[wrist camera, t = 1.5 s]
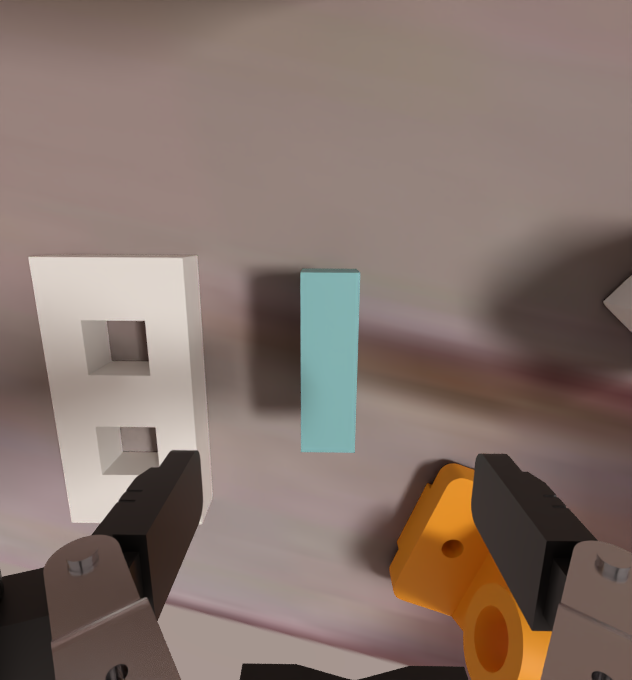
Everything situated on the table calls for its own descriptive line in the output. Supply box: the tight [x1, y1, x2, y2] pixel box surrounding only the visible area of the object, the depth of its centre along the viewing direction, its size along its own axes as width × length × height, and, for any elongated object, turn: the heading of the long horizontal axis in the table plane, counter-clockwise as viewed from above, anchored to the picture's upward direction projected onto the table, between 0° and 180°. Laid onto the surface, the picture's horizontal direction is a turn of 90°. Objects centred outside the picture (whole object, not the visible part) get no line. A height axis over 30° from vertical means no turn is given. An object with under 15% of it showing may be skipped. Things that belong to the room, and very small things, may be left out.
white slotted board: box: [28, 254, 213, 524], centre depth 28 cm, size 18×9×3 cm, turn 0°
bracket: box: [389, 463, 552, 680], centre depth 26 cm, size 11×7×12 cm, turn 159°
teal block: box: [300, 269, 360, 453], centre depth 25 cm, size 10×3×6 cm, turn 0°
